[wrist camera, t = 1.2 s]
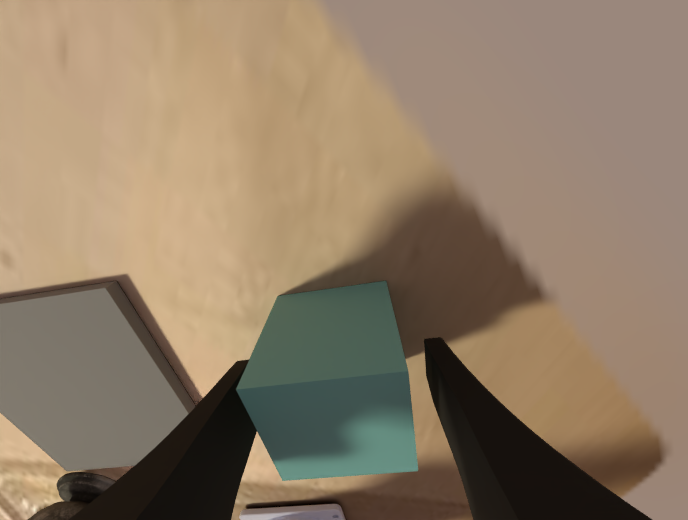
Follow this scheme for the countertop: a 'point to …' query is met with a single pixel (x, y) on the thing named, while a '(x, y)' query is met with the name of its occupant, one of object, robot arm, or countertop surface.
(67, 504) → the dark grey chess piece
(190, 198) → the countertop surface
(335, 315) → the teal cube
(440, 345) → the robot arm
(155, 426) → the charcoal mat
